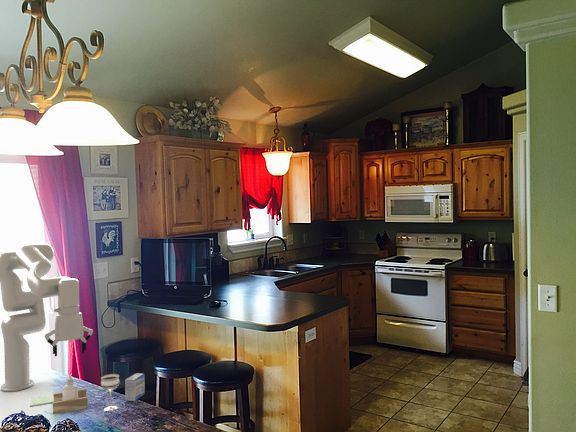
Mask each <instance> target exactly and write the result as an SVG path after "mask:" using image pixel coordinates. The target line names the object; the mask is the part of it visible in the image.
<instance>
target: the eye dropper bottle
mask: <svg viewBox="0 0 576 432" xmlns="http://www.w3.org/2000/svg"><path fill="white" fill-rule="evenodd" d="M74 382H75V381H74V378H73V377H72V374H68V377H67V378H66V384H65V385H63V386H62V391H61V392H62V395H63V401H64V400H70V399H76V398H78V390H79V387H78V385H77V384H75V383H74Z"/></svg>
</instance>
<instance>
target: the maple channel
mask: <svg viewBox="0 0 576 432" xmlns="http://www.w3.org/2000/svg"><path fill="white" fill-rule="evenodd" d="M87 391H88V389H87V388H81V389H80V388H78V398H76V399H70V400H64V401H63V395H62V391H61V392H55V393H53V394H54V402H53V403H52V414H53V415H55V414H56V415H57V414H61V413H66V412H68V413H69V412H73V411H74V412H75V411H77V410H83V409H84V410H85V409H88V403H89V402H88V398H89V397H88V396H87V395H88V393H87Z"/></svg>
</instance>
